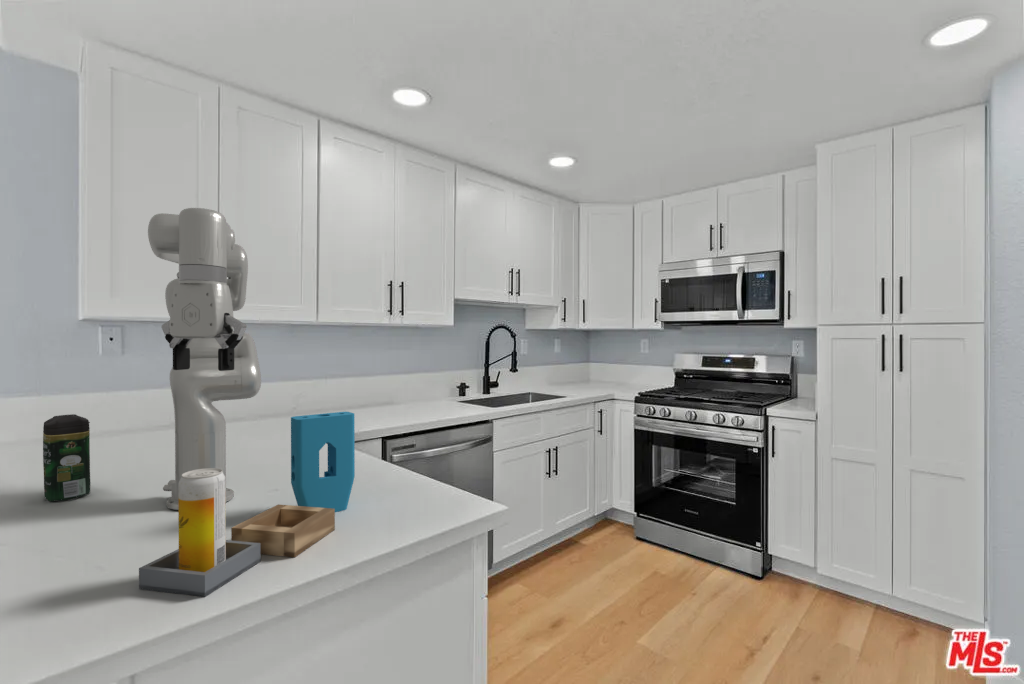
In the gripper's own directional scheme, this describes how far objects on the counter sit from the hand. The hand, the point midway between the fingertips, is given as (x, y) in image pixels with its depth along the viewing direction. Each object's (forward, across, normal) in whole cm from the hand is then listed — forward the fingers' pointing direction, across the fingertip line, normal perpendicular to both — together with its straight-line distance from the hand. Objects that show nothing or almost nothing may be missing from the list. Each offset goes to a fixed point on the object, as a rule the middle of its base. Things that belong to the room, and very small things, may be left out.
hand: (203, 369), depth 91 cm
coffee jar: (+31, -48, +12) cm, 58 cm away
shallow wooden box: (+30, +17, 0) cm, 35 cm away
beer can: (+30, +13, -14) cm, 35 cm away
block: (+31, +15, +15) cm, 37 cm away
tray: (+30, +13, -14) cm, 36 cm away
